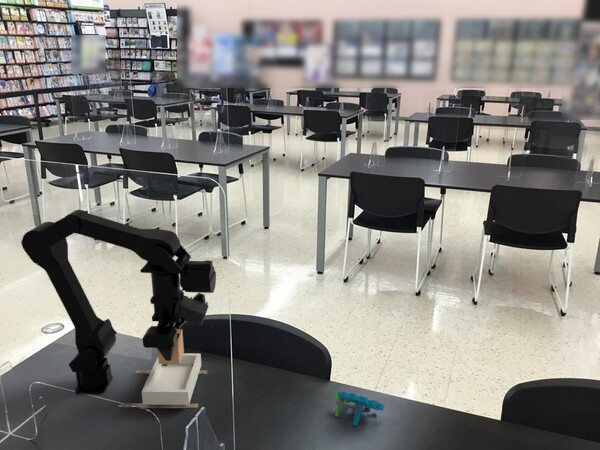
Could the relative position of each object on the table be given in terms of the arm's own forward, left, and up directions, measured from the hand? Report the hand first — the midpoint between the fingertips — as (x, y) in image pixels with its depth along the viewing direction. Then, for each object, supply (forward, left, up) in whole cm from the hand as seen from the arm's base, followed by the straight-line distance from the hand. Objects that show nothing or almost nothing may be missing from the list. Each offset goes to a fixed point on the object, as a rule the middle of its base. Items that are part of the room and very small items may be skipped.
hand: (171, 354), depth 113 cm
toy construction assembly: (+41, -9, -9) cm, 43 cm away
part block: (0, 0, -1) cm, 1 cm away
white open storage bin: (0, 0, -9) cm, 9 cm away
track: (-2, 0, -9) cm, 9 cm away
